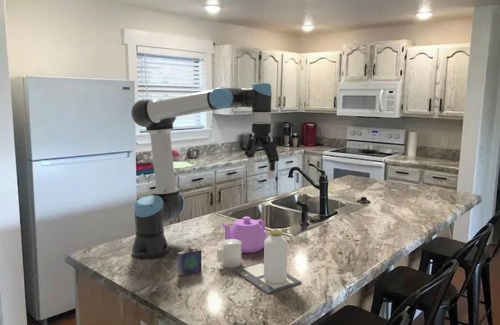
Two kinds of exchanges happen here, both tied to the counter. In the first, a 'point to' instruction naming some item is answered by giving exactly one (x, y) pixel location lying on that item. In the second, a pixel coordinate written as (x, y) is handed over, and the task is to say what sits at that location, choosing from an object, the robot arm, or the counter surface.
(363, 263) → the counter surface
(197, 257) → the flask
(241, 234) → the teapot
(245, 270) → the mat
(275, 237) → the white bottle
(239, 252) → the mug
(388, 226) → the counter surface
